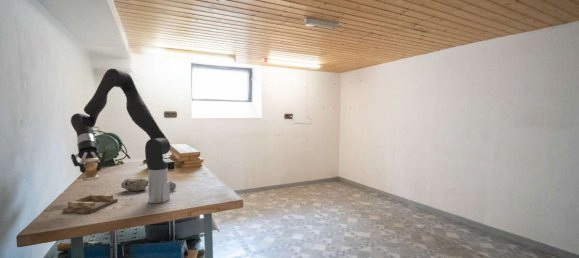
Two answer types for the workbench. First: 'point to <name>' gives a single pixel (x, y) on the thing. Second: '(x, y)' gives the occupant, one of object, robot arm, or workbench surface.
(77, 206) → the notched board
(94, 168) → the bobbin
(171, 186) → the flashlight
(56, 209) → the workbench surface
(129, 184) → the pumice stone
